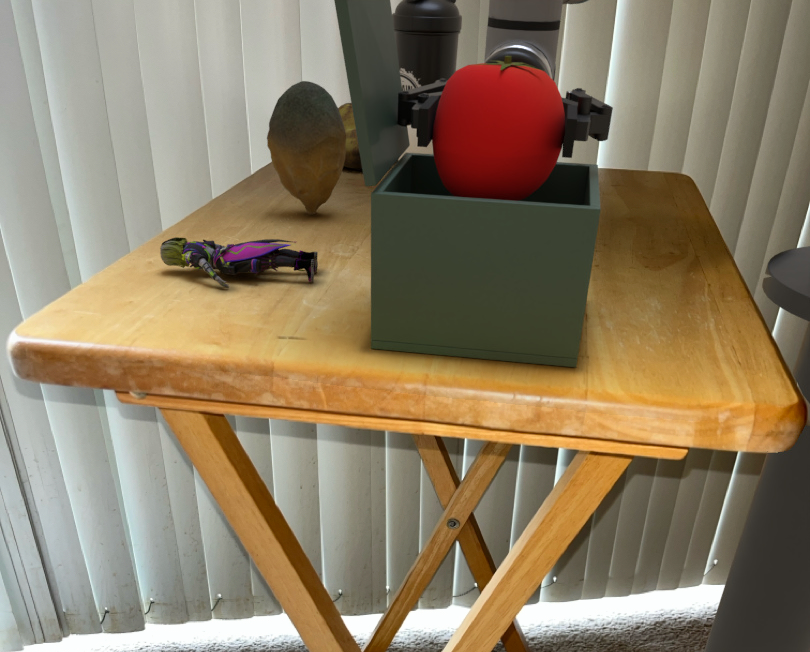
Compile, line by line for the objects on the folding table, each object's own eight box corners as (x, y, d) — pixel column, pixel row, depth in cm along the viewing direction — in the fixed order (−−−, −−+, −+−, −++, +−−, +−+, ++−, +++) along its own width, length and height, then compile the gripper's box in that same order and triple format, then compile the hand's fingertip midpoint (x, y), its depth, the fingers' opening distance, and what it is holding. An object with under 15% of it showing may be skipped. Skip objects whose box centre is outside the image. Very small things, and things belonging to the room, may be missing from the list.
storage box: (577, 303, 83) (597, 164, 75) (576, 367, 70) (600, 209, 63) (402, 288, 85) (405, 152, 78) (370, 348, 73) (370, 193, 65)
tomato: (401, 199, 71) (406, 52, 64) (478, 179, 77) (489, 44, 71) (501, 226, 65) (517, 68, 59) (575, 203, 72) (597, 58, 65)
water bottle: (377, 158, 134) (378, -14, 121) (428, 151, 139) (434, -15, 126) (415, 170, 128) (421, -10, 114) (467, 163, 133) (478, -11, 119)
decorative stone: (350, 210, 109) (349, 79, 100) (343, 223, 104) (340, 86, 95) (277, 206, 109) (269, 75, 100) (266, 219, 104) (256, 82, 96)
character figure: (320, 266, 91) (174, 254, 91) (321, 231, 89) (170, 218, 89) (309, 296, 84) (149, 283, 84) (309, 258, 81) (144, 245, 81)
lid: (376, -103, 67) (365, -101, 67) (328, -113, 54) (315, -111, 55) (409, 145, 77) (400, 147, 77) (376, 185, 65) (365, 186, 65)
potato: (318, 171, 126) (316, 112, 121) (335, 153, 136) (334, 98, 132) (373, 174, 125) (373, 115, 120) (386, 156, 135) (386, 101, 131)
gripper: (625, 141, 83) (638, 196, 65) (395, 124, 86) (348, 173, 68) (640, 54, 79) (659, 88, 61) (397, 39, 81) (348, 68, 64)
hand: (495, 133), depth 65 cm, fingers closed on tomato, 11 cm apart
